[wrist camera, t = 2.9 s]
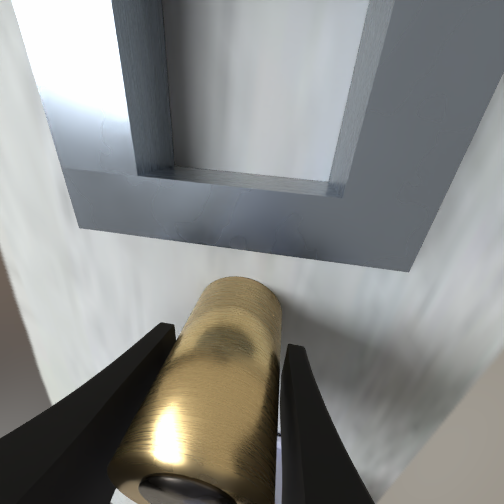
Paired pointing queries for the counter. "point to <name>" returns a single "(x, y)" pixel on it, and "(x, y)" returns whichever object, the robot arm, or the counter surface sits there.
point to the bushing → (210, 407)
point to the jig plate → (260, 186)
